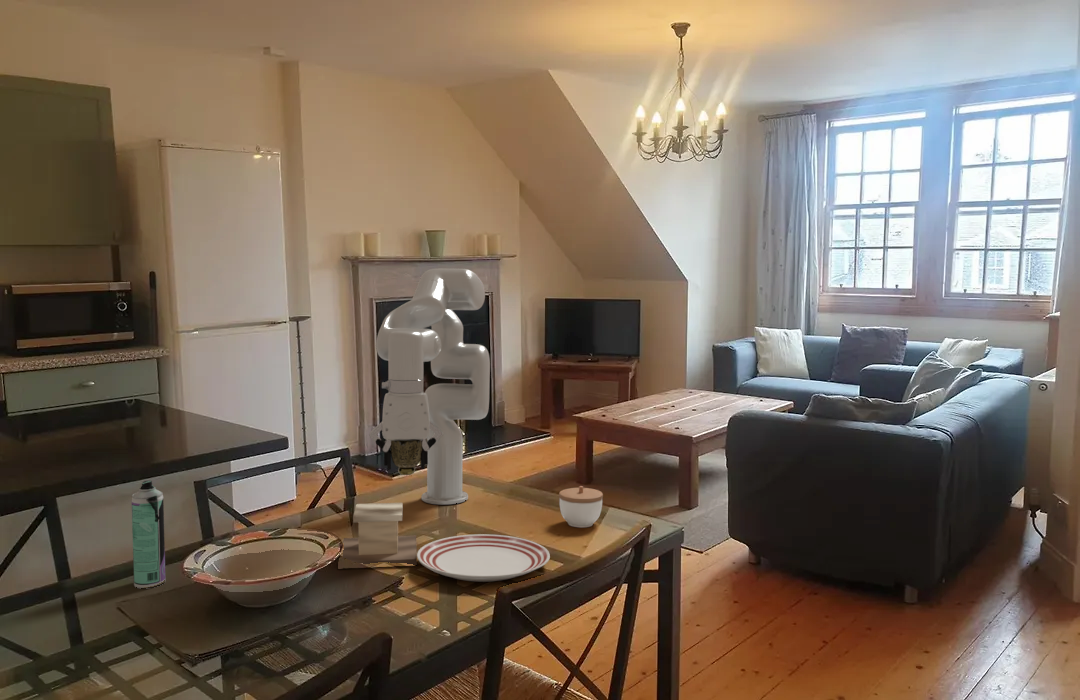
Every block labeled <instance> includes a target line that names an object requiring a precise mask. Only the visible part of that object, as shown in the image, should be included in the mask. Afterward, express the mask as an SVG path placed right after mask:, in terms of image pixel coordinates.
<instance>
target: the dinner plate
mask: <svg viewBox="0 0 1080 700" xmlns="http://www.w3.org/2000/svg"><path fill="white" fill-rule="evenodd" d="M550 555H551V554H550V551H549V550H548V549H547V548H546V547H544V546H543V545H541V544H539V543H538V542H536V541H532V540H529V539H525V538H523V537H522V538H521V537H517V536H511V535H510V536H509V535H502V534H488V533H487V534H486V533H484V534H483V533H482V534H481V533H478V534H464V535H463V534H462V535H454V536H449V537H448V536H447V537H445V538H444V537H443V538H439V539H437V540H433V541H432V542H429V543H426V544H424V545H423V546H422V547H420V549H418V550H417V561H418V562H419V563H420V564H421V565H422V566H424V567H425V568H426V569H428V570H430V571H433V572H434V573H437V574H438V575H439V574H440V575H442V576H445V577H447V578H448V577H449V578H453V579H455V580H460V581H466V582H477V583H478V582H479V583H486V582H498V581H499V582H500V581H506V580H510V579H514V578H517V577H520V576H523V575H526V574H529V573H532V572H533V571H536V570H538V569H540V568H542V567H543V566H544V565H546V564H548V562H549V561H550V558H551V556H550Z"/></svg>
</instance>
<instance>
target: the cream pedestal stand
mask: <svg viewBox="0 0 1080 700" xmlns="http://www.w3.org/2000/svg"><path fill="white" fill-rule="evenodd" d="M403 503H404V502H378V503H376V502H374V503H357V504H356V505H355V509H354V513H353V516H352V520H353V521H352V523H353V524H354V523H358V537H344V538H343V539H342V543H344V550H343V558H346V559H348V560H351V561H352V562H357V563H363V564H370V563H378V562H388V563H389V562H390V563H407V564H413V565H417V566H418V558H417V553H418V550H417V547H418V546H417V535H413V534H412V535H399V522H403V512H404V511H403V509H404V508H403V505H404V504H403Z"/></svg>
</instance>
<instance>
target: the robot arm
mask: <svg viewBox="0 0 1080 700" xmlns="http://www.w3.org/2000/svg"><path fill="white" fill-rule="evenodd" d="M485 299H486V291H485V285H484V283H483V281H482V280H481V278H480V277H479V276H478V275H477V273H476V272H474V271H472V270H470V269H468V268H455V267H454V268H451V267H450V268H445V267H441V268H440V267H438V268H430V269H428V270H426V271H424V272H423V273H422V274H421V276H420V278H419V281H418V283H417V285H416V288H415V291H414V294H413V296H412V299H411V300H409V301H407V302H405V303H403V304H402V305H400V306H398V307H397V308H395V309H393V310H391V311H390V312H389V313H388V314H387V315H386V316H385V317H384V319H383V320H382V322H381V323H382V324H381V326H380V328H379V330H378V333H377V336H376V337H377V338H376V345H375V346H376V347H375V349H376V352H377V355H378V357H380V358H381V359H382V360H384V361H388V380H386V381H385V382H384V381H382V382H381V389H385V390H387V391H388V392H387V393H385V395H384V398H383V405H382V421H381V422H380V423H379V424H377V425H376V426H375V427H374V428H372V430H371V431H370V432H369V434H368V437H369V438H370V439H371V440H372V441H373V442H374V443H375V444H376V445H377V446H378V447H379V448H380V449H381V450H382V451H383V456H384V457H383V458H384V459H383V460H384V461H383V462H384V463H383V466H385V467H386V468H387V471H390V470H391V469H392V457H391V449H390V446H391V441H403V440H419V441H420V440H421V441H423V442H422V443H421V444H422V447H423V448H422V452H421V460H420V468H421V469H422V470H425V466H426V465H427V466H426V467H427V469H426V473H427V475H426V476H427V477H426V480H427V481H426V483H427V484H426V485H427V486H426V487H427V489H426V490H427V491H426V492H423V493H422V494H421V501H423V502H424V503H427V504H431V505H438V506H443V505H444V506H447V505H455V504H456V503H457V504H460V503H464V502H466V501H468V499H469V494H468V493H467V492H466V491H463V447H464V445H463V443H464V442H463V440H464V438H463V432H462V431H461V429H460V428H459V426H458V424H457V423H456V422H455V420H471V421H473V420H474V421H475V420H476V421H479V420H482V419H485V418H486V417H487V415H488V413H489V409H490V408H489V407H490V378H491V377H490V376H491V375H490V372H491V363H490V362H491V361H490V360H491V359H490V353H489V351H488V349H487V347H486V346H484V345H482V344H478V343H477V344H476V343H464V325H463V322H462V321H461V319H460V318H459V317H458V315H457V314H456V313H455V311H477V310H478V311H479V309H481V308H482V307H483V306H484V303H485ZM429 327H431V329H430V328H429ZM425 362H430V371H431V373H432V375H433V376H435V377H436V378H440V379H448V380H449V379H450V380H451V379H452V380H455V379H456V380H470V381H471V383H472V384H471V383H469V384H468V383H467V384H465V383H436V384H435V383H434V384H432V385H430V386H428V387H427V388H426V389H425V391H424V363H425ZM380 432H381V434H382V437H383V439H385V441H384V440H383V439H382V438H380V437H379V436H378V434H379V433H380ZM465 500H466V501H465ZM457 504H456V505H457Z"/></svg>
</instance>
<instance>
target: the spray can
mask: <svg viewBox="0 0 1080 700" xmlns="http://www.w3.org/2000/svg"><path fill="white" fill-rule="evenodd" d="M131 497H132V498H131V528H132V531H131V533H132V556H133V557H132V560H133V561H132V564H133V568H132V569H133V586H134V587H135V588H136V587H137V589H141V588H144V587H150V586H154V585H157V584H159V583H161V582H163V581H164V580H165V581H166V551H165V550H166V549H165V548H166V547H165V516H164V515H165V512H164V511H165V510H164V508H165V507H164V495H163V491H161V490H159V489H156V487H155V486H154V485H153V481H152V480H144V481H143V482H142V483H141V486H140V487H139V489H138V490H137V491H136V492H134V493H133V494H131Z"/></svg>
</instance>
